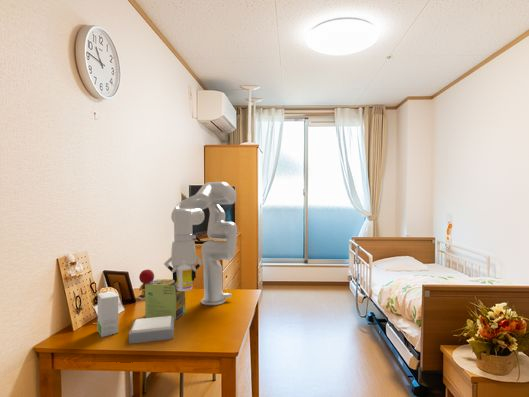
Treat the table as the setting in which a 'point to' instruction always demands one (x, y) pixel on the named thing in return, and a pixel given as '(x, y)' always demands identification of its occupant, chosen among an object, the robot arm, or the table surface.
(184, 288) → the supplement bottle
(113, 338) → the table surface
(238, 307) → the table surface
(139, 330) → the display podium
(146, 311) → the protein box
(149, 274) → the figurine
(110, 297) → the skincare box
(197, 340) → the table surface
